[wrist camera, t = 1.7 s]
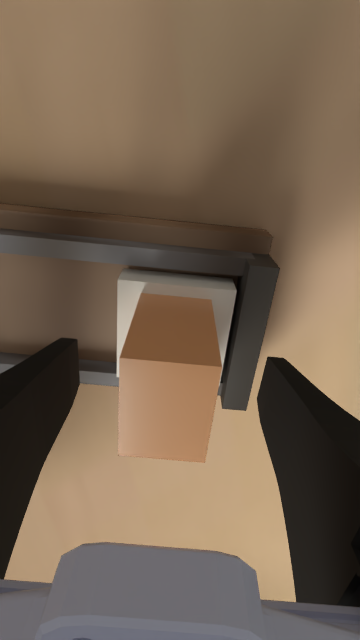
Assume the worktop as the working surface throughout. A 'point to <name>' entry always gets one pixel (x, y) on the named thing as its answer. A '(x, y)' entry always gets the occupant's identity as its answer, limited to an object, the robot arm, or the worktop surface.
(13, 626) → the robot arm
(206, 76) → the worktop surface
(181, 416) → the block
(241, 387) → the rail board
